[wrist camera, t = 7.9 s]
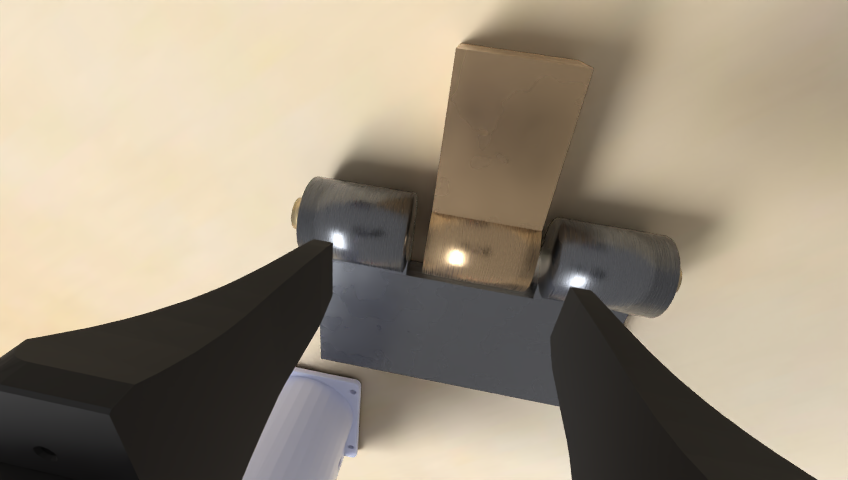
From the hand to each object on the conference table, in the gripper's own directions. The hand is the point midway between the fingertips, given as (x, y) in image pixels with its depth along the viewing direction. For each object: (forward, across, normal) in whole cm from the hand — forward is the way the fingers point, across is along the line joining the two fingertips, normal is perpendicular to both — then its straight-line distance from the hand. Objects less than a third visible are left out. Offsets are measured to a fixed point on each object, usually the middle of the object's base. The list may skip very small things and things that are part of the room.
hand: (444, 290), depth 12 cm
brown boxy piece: (+9, -1, -1) cm, 10 cm away
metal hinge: (+9, -1, +7) cm, 12 cm away
